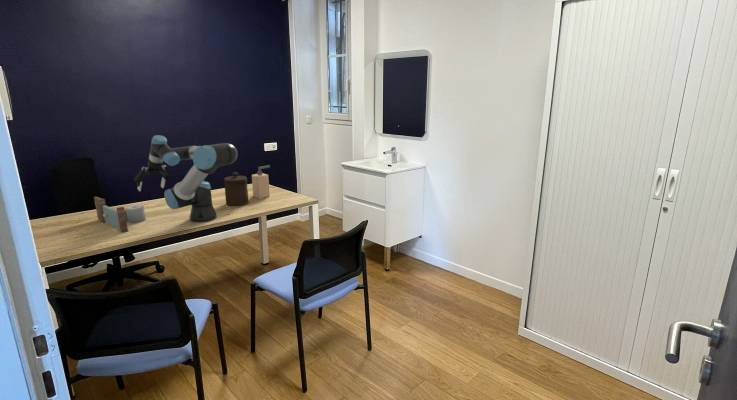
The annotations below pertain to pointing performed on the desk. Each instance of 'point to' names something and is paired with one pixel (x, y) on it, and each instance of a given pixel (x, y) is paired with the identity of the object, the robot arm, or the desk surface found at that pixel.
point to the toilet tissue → (135, 213)
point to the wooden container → (236, 190)
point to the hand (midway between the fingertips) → (150, 188)
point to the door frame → (120, 212)
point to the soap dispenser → (260, 183)
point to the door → (111, 216)
